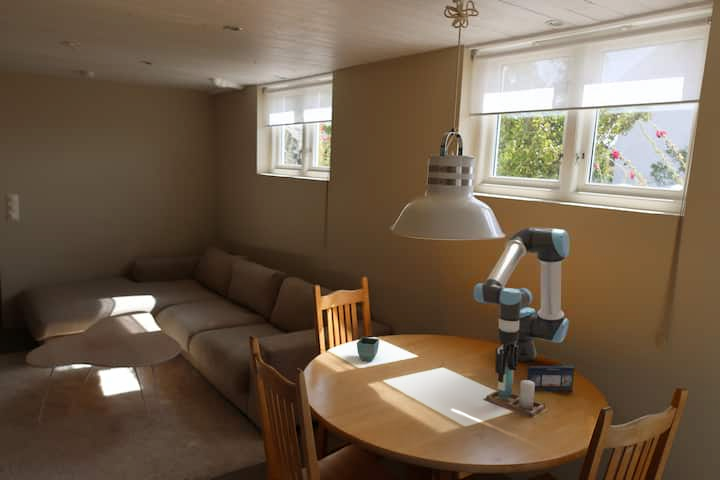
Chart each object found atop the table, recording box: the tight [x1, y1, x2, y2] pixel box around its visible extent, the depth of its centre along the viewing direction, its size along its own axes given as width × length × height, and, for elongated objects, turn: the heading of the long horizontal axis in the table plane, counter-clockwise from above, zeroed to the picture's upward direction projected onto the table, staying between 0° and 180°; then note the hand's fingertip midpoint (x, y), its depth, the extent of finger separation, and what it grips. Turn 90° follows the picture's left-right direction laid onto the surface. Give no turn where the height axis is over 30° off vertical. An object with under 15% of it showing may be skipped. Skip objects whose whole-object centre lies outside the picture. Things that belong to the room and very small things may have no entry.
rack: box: [482, 389, 550, 420], centre depth 197 cm, size 12×21×2 cm, turn 44°
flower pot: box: [356, 336, 380, 362], centre depth 242 cm, size 9×9×9 cm
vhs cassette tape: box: [526, 365, 575, 392], centre depth 211 cm, size 18×3×10 cm, turn 89°
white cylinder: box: [519, 379, 535, 411], centre depth 193 cm, size 5×5×10 cm
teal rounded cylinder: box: [497, 367, 514, 398], centre depth 199 cm, size 5×5×10 cm
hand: (505, 387), depth 199 cm, fingers closed on teal rounded cylinder, 5 cm apart
